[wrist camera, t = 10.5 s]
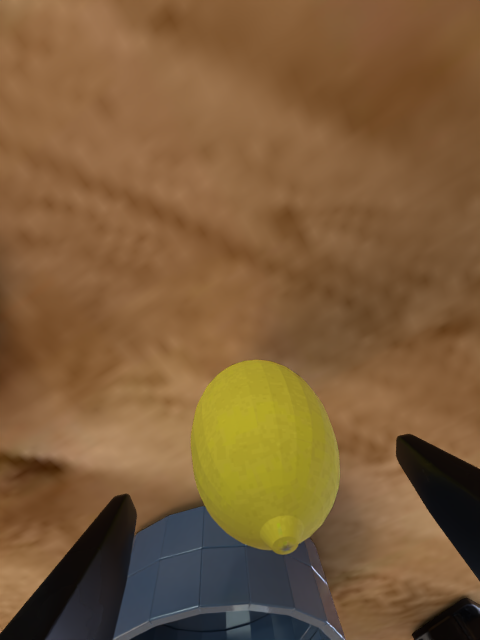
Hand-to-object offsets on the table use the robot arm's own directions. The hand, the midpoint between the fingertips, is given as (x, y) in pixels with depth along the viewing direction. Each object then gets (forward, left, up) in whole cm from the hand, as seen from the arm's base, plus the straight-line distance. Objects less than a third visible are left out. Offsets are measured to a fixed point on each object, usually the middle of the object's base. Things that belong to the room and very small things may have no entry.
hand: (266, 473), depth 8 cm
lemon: (0, 0, -6) cm, 6 cm away
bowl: (-9, +14, -6) cm, 18 cm away
